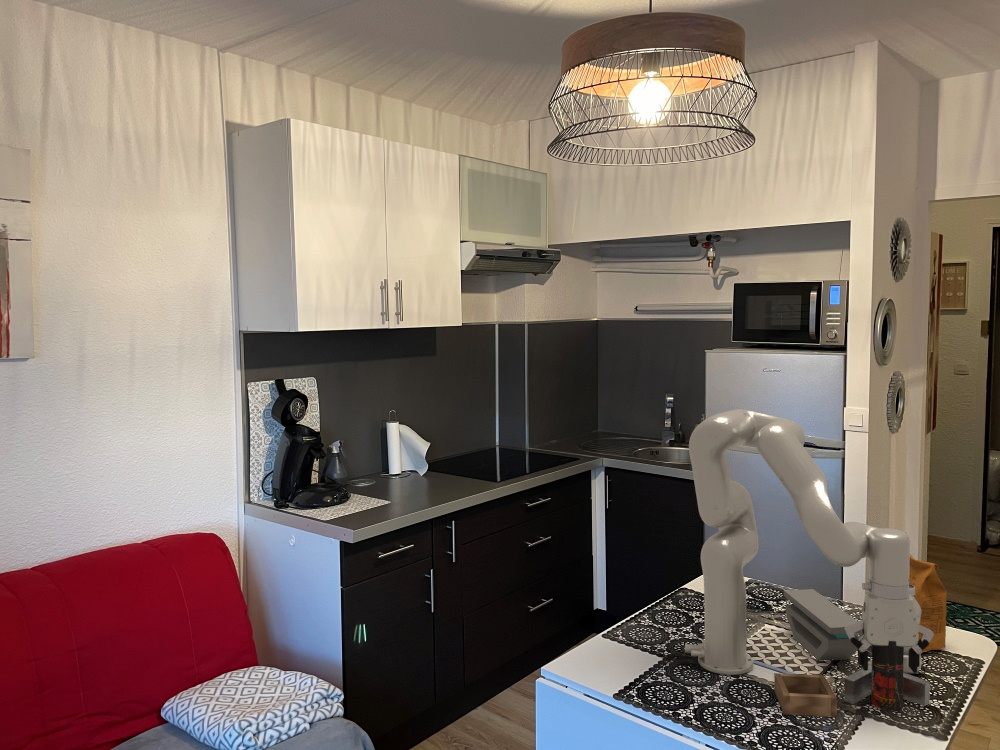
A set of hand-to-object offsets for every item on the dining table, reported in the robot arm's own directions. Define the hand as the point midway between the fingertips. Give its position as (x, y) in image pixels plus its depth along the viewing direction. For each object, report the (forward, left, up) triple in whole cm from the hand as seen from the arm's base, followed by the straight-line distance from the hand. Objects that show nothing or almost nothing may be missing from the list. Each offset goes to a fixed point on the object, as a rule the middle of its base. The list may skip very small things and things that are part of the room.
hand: (888, 668), depth 166 cm
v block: (0, +5, -8) cm, 9 cm away
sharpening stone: (-7, +27, -8) cm, 29 cm away
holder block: (-17, -1, -8) cm, 19 cm away
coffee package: (+17, +33, -8) cm, 38 cm away
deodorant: (0, 0, -8) cm, 8 cm away
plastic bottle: (+9, +17, -8) cm, 21 cm away
